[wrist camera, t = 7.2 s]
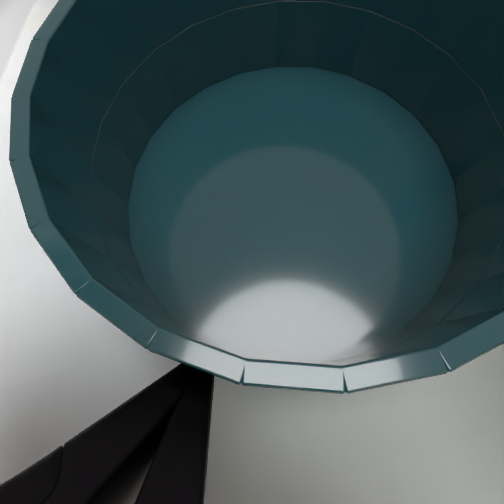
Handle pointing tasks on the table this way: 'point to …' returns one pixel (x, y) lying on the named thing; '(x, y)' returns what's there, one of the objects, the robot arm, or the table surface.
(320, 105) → the bowl
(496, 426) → the table surface
